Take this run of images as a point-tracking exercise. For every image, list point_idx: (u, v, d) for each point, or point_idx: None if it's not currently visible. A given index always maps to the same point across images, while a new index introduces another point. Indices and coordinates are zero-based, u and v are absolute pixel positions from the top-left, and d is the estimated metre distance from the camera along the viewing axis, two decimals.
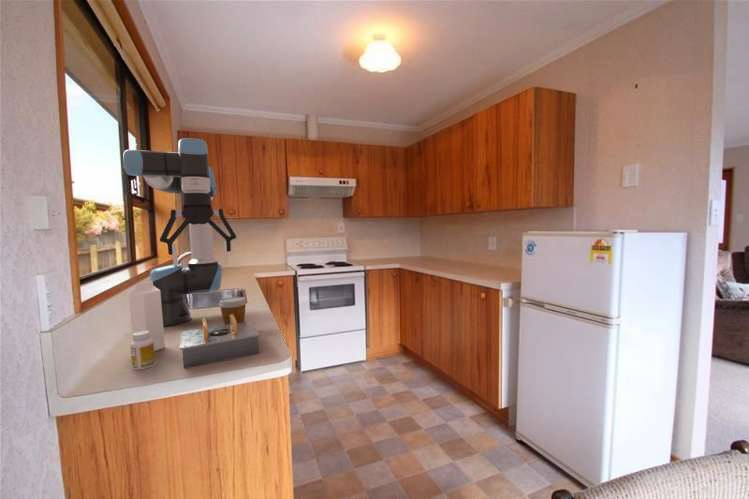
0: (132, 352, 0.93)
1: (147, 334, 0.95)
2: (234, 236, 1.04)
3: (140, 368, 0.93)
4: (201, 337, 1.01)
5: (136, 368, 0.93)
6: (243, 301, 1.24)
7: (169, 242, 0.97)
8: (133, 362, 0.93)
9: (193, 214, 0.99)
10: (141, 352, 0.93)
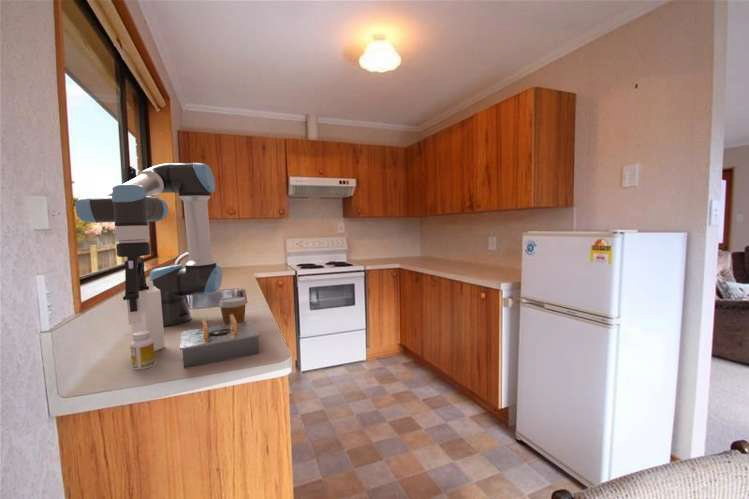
0: (132, 352, 0.93)
1: (147, 334, 0.95)
2: (125, 295, 0.85)
3: (140, 368, 0.93)
4: (201, 337, 1.01)
5: (136, 368, 0.93)
6: (243, 301, 1.24)
7: None
8: (133, 362, 0.93)
9: None
10: (141, 352, 0.93)
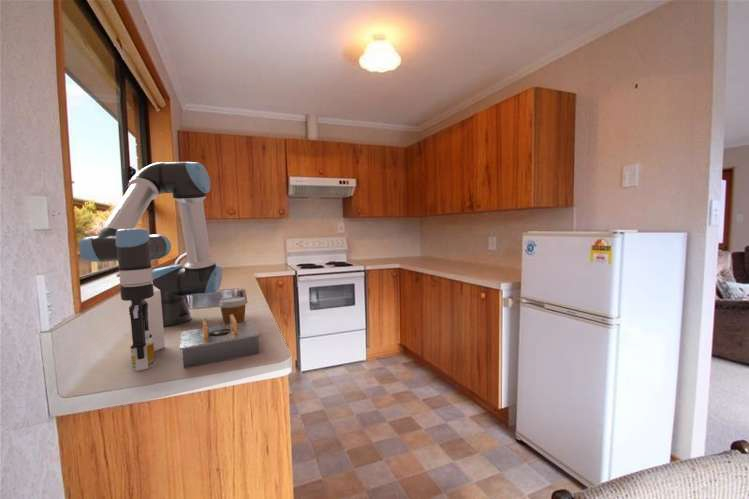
0: (132, 352, 0.93)
1: (147, 334, 0.95)
2: (132, 345, 0.90)
3: None
4: (201, 337, 1.01)
5: None
6: (243, 301, 1.24)
7: None
8: (133, 362, 0.93)
9: None
10: None
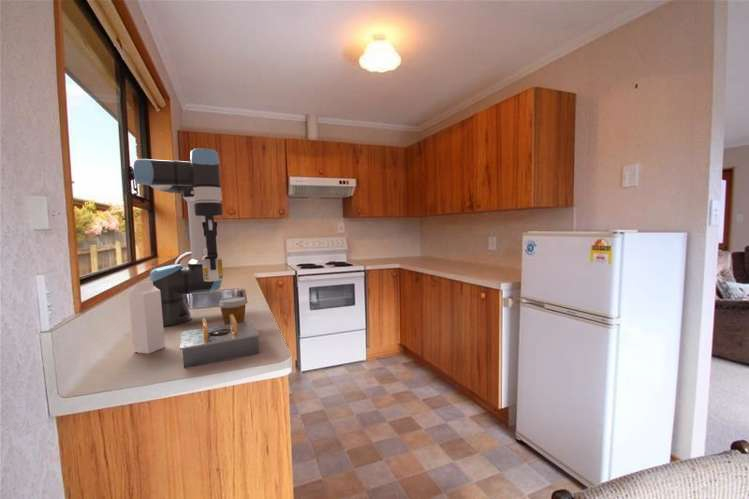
0: (204, 265, 1.00)
1: (217, 249, 1.02)
2: (207, 255, 0.97)
3: None
4: (201, 337, 1.01)
5: (208, 280, 1.00)
6: (243, 301, 1.24)
7: None
8: (205, 274, 1.00)
9: None
10: None
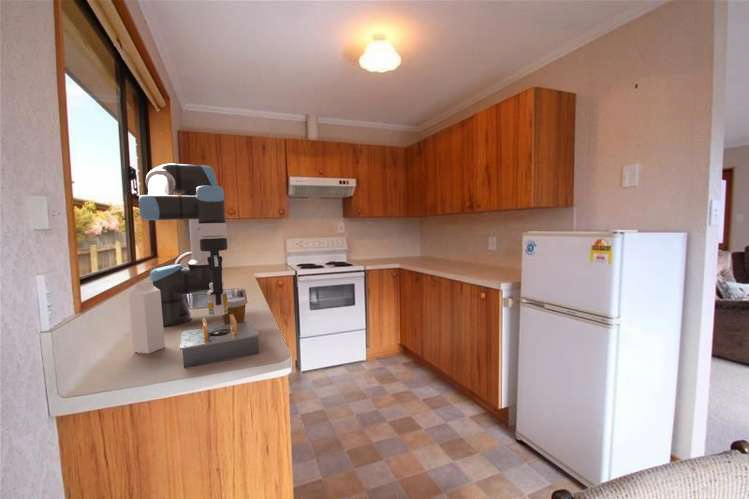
0: (210, 299, 1.01)
1: (222, 284, 1.03)
2: (213, 291, 0.98)
3: None
4: (201, 337, 1.01)
5: (213, 314, 1.02)
6: (243, 301, 1.24)
7: None
8: (210, 309, 1.02)
9: (207, 258, 1.03)
10: None
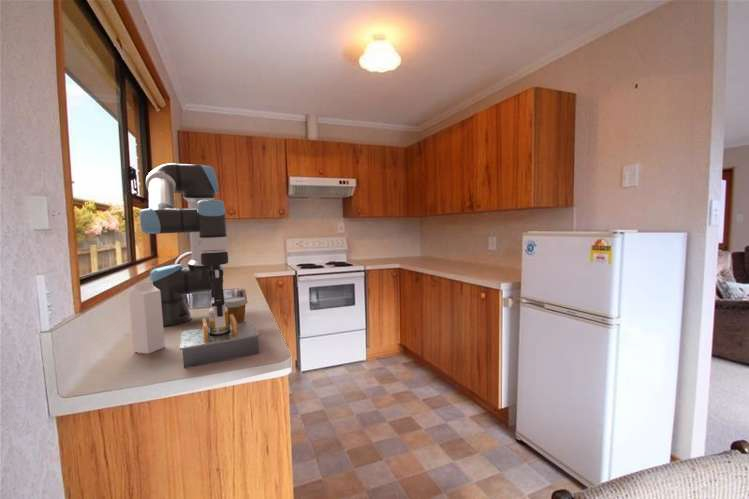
0: (211, 318, 1.02)
1: None
2: (214, 302, 0.96)
3: (218, 332, 1.02)
4: (201, 337, 1.01)
5: (214, 333, 1.02)
6: (243, 301, 1.24)
7: None
8: (212, 327, 1.02)
9: (208, 272, 1.03)
10: None
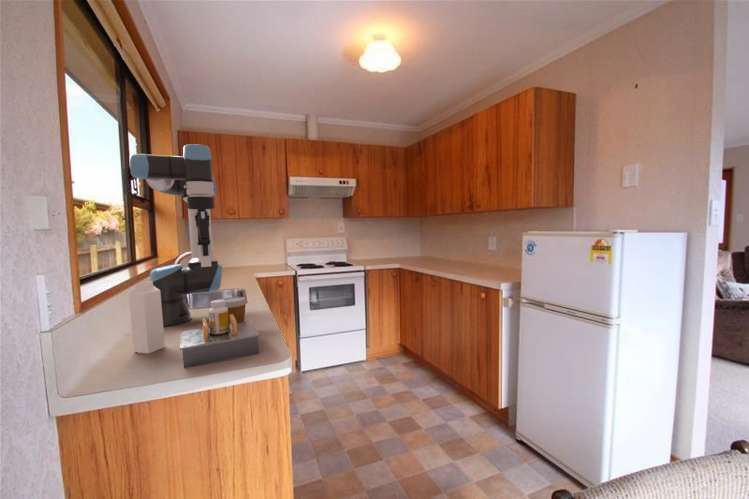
0: (211, 318, 1.02)
1: (223, 302, 1.04)
2: (200, 241, 0.98)
3: (218, 332, 1.02)
4: (201, 337, 1.01)
5: (214, 333, 1.02)
6: (243, 301, 1.24)
7: (198, 240, 1.13)
8: (212, 327, 1.02)
9: None
10: (219, 317, 1.02)
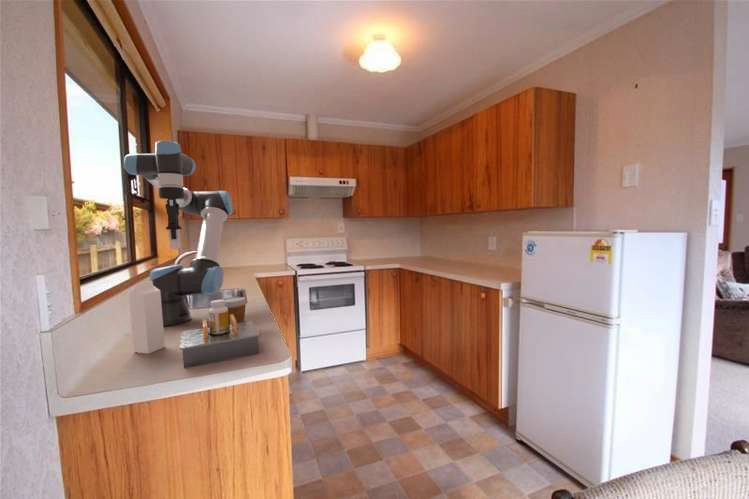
0: (211, 318, 1.02)
1: (223, 302, 1.04)
2: (168, 225, 1.10)
3: (218, 332, 1.02)
4: (201, 337, 1.01)
5: (214, 333, 1.02)
6: (243, 301, 1.24)
7: None
8: (212, 327, 1.02)
9: None
10: (219, 317, 1.02)
